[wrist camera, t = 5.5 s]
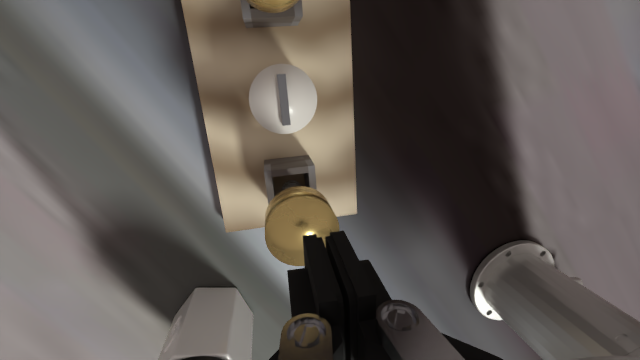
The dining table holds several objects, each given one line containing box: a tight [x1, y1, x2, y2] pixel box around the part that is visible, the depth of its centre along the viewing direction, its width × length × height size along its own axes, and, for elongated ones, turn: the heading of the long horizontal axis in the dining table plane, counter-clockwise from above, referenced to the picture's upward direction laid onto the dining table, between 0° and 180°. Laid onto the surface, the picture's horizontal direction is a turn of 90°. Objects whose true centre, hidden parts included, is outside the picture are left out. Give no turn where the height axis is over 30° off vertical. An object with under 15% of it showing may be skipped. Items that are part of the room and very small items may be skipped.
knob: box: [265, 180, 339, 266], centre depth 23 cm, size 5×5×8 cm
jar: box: [158, 288, 253, 360], centre depth 30 cm, size 9×8×12 cm
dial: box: [249, 64, 317, 134], centre depth 24 cm, size 5×5×6 cm
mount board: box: [181, 0, 357, 232], centre depth 27 cm, size 26×14×6 cm, turn 4°
